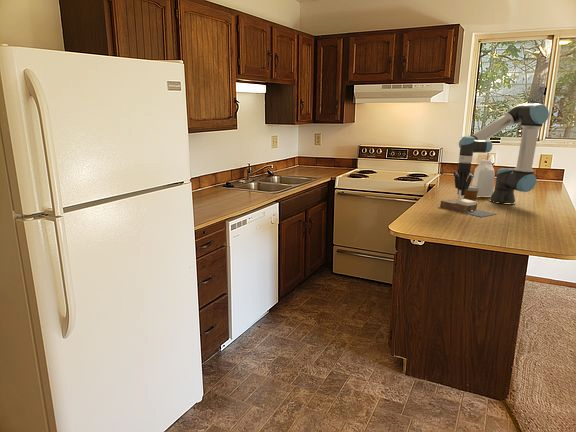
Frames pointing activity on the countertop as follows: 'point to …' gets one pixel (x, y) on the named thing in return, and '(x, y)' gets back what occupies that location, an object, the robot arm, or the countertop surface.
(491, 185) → the milk
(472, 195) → the disposable coffee cup
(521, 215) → the countertop surface
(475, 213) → the rubber mat
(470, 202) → the coaster
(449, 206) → the walnut board
